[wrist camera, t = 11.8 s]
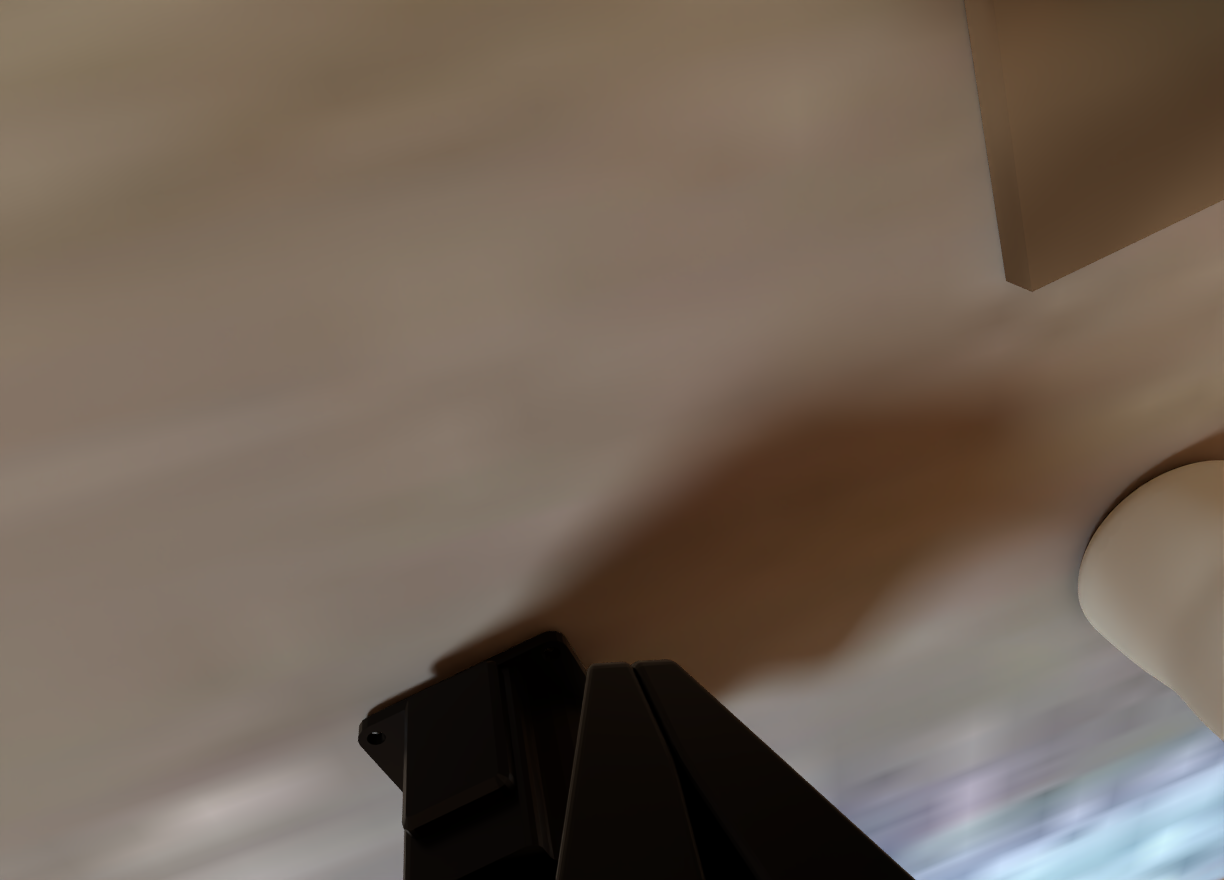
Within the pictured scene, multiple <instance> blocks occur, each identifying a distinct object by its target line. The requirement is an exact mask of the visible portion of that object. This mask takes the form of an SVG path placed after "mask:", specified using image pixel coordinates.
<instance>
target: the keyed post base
mask: <svg viewBox="0 0 1224 880" xmlns="http://www.w3.org/2000/svg"><path fill="white" fill-rule="evenodd" d="M964 3H965V9H966V16H967V23H968V29H969V36H970V43H971V49H972V56H973V63H974V69H975V76H976V83H977V89H978V96H979V103H980V109H981V116H982V123H983V129H984V136H985V143H986V149H987V156H988V163H989V169H990V176H991V182H992V189H993V196H994V202H995V209H996V216H997V222H998V229H999V236H1000V242H1001V249H1002V256H1003V262H1004V269H1005V276H1006V281H1008V282H1010V283H1012V284H1015V285H1017V286H1019V287H1022V288H1024V289H1027V290H1029V291H1031V292H1033V291H1035V290H1037V289H1039V288H1041V287H1043V286H1045V285H1047V284H1049V283H1051V282H1053V281H1056V280H1058V279H1060V278H1062V277H1064V276H1066V275H1068V274H1070V273H1072V272H1074V271H1076V270H1078V269H1081V268H1083V267H1085V266H1087V265H1089V264H1091V263H1093V262H1095V261H1097V260H1099V259H1101V258H1103V257H1105V256H1108V255H1110V254H1112V253H1114V252H1116V251H1118V250H1120V249H1122V248H1124V247H1126V246H1128V245H1130V244H1133V243H1135V242H1137V241H1139V240H1141V239H1143V238H1145V237H1147V236H1149V235H1151V234H1153V233H1155V232H1157V231H1160V230H1162V229H1164V228H1166V227H1168V226H1170V225H1172V224H1174V223H1176V222H1178V221H1180V220H1182V219H1185V218H1187V217H1189V216H1191V215H1193V214H1195V213H1197V212H1199V211H1201V210H1203V209H1205V208H1207V207H1209V206H1212V205H1214V204H1216V203H1218V202H1220V201H1222V200H1224V0H964Z"/></svg>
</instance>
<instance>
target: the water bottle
mask: <svg viewBox="0 0 1224 880" xmlns="http://www.w3.org/2000/svg"><path fill="white" fill-rule="evenodd" d="M1078 596H1079V602H1080V605H1081V608H1082V610H1083V613H1084V615H1085V617H1086V618H1087V619H1088V621H1089V622H1090V623H1091V625H1092V626H1093V627H1094V628H1095V629H1096V630H1097V631H1098V632H1099V633H1100V634H1101V635H1102V636H1103V637H1104V638H1106V639H1107V640H1108V641H1109V642H1110V643H1111V644H1112V645H1114V646H1115V647H1116V648H1117V649H1118V650H1119V651H1121V652H1122V653H1123V654H1124V655H1125V656H1127V657H1128V658H1129V659H1130V660H1132V661H1133V662H1134V663H1135V664H1137V665H1138V666H1139V667H1141V668H1142V669H1143V670H1144V671H1146V672H1147V673H1149V674H1150V675H1152V676H1153V677H1154V678H1156V679H1157V680H1159V681H1160V682H1162V683H1163V684H1165V685H1166V686H1168V687H1169V688H1171V689H1172V690H1174V691H1175V692H1176V693H1177V694H1178V695H1179V696H1180V697H1181V698H1182V700H1183V701H1184V702H1185V703H1186V704H1187V706H1188V707H1189V708H1190V709H1191V710H1192V711H1193V712H1194V714H1195V715H1196V716H1197V717H1198V718H1199V719H1200V720H1201V721H1202V722H1203V723H1204V724H1205V725H1206V726H1207V727H1208V728H1209V729H1210V730H1211V731H1212V732H1213V733H1215V734H1216V735H1217V736H1218V737H1219V738H1220V739H1221V740H1222V741H1223V742H1224V460H1212V461H1203V462H1198V463H1193V464H1189V465H1185V466H1182V467H1179V468H1176V469H1173V470H1171V471H1168V472H1166V473H1164V474H1162V475H1160V476H1158V477H1156V478H1154V479H1152V480H1150V481H1149V482H1147V483H1145V484H1144V485H1142V486H1141V487H1139V488H1138V489H1136V490H1135V491H1134V492H1132V493H1131V494H1130V495H1129V496H1127V497H1126V498H1125V499H1124V500H1123V501H1122V502H1121V503H1120V504H1118V505H1117V506H1116V507H1115V508H1114V509H1113V511H1112V512H1111V513H1110V514H1109V515H1108V516H1107V517H1106V518H1105V520H1104V521H1103V522H1102V524H1101V525H1100V526H1099V528H1098V529H1097V531H1096V532H1095V534H1094V535H1093V537H1092V539H1091V541H1090V542H1089V545H1088V547H1087V549H1086V551H1085V553H1084V556H1083V559H1082V562H1081V566H1080V570H1079V577H1078Z"/></svg>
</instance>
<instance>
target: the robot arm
mask: <svg viewBox="0 0 1224 880" xmlns="http://www.w3.org/2000/svg"><path fill="white" fill-rule="evenodd" d="M551 647H554V648H556V649H555V650H554V651H550V652H547V651H545V650H546V649H547V648H551ZM373 732H382V733H379V734H372V733H373ZM358 742H359V744H360V746H361V747H362V748H363V749H364V750H365V751H366V752H367V754H368V755H369V756H370V757H371V758H372V759H373V760H374V761H375V762H376V763H377V764H378V766H379V767H380V768H381V769H382V770H383V771H384V772H385V773H386V774H387V775H388V777H389V778H390V779H391V780H392V781H393V782H394V783H395V784H396V785H397V786H398V787H399V789H400V790H401V791H402V792H403V811H402V825H403V828H404V869H403V880H915V879H914V878H913V877H912V876H911V875H910V874H908V873H907V872H906V871H905V870H904V869H903V868H902V867H901V866H900V865H899V864H897V863H896V862H895V861H894V860H893V859H892V858H891V857H890V856H889V855H888V854H886V853H885V852H884V851H883V850H882V849H881V848H880V847H879V846H878V845H877V844H875V843H874V842H873V841H872V840H871V839H870V838H869V837H868V836H867V835H866V834H864V833H863V832H862V831H861V830H860V829H859V828H858V827H857V826H856V825H855V824H853V823H852V822H851V821H850V820H849V819H848V818H847V817H846V816H845V815H844V814H842V813H841V812H840V811H839V810H838V809H837V808H836V807H835V806H834V805H832V804H831V803H830V802H829V801H828V800H827V799H826V798H825V797H824V796H823V795H821V794H820V793H819V792H818V791H817V790H816V789H815V788H814V787H813V786H812V785H810V784H809V783H808V782H807V781H806V780H805V779H804V778H803V777H802V776H801V775H799V774H798V773H797V772H796V771H795V770H794V769H793V768H792V767H791V766H790V765H788V764H787V763H786V762H785V761H784V760H783V759H782V758H781V757H780V756H779V755H777V754H776V753H775V752H774V751H773V750H772V749H771V748H770V747H769V746H768V745H766V744H765V743H764V742H763V741H762V740H761V739H760V738H759V737H758V736H756V735H755V734H754V733H753V732H752V731H751V730H750V729H749V728H748V727H747V726H745V725H744V724H743V723H742V722H741V721H740V720H739V719H738V718H737V717H736V716H734V715H733V714H732V713H731V712H730V711H729V710H728V709H727V708H726V707H725V706H723V705H722V704H721V703H720V702H719V701H718V700H717V699H716V698H715V697H714V696H712V695H711V694H710V693H709V692H708V691H707V690H706V689H705V688H704V687H703V686H701V685H700V684H699V683H698V682H697V681H696V680H695V679H694V678H693V677H692V676H690V675H689V674H688V673H687V672H686V671H685V670H684V669H683V668H682V667H680V666H679V665H678V664H677V663H675V662H674V661H672V660H647V661H637V662H635V663H633V664H632V665H629V664H628V663H626V662H611V663H595V664H592V665H590V666H589V668H588V671H586V670H585V668H584V667H583V665H582V663H581V662H580V660H579V659H578V657H577V655H576V654H575V652H574V651H573V649H572V647H571V646H570V644H569V643H568V641H567V639H566V638H565V637H564V636H563V635H562V634H561V633H559V632H556V631H548V632H545V633H542V634H540V635H537V636H535V637H533V638H531V639H529V640H527V641H525V642H523V643H521V644H519V645H517V646H515V647H512V648H510V649H508V650H506V651H504V652H502V653H500V654H498V655H496V656H494V657H492V658H490V659H487V660H485V661H483V662H481V663H479V664H477V665H475V666H473V667H471V668H469V669H467V670H465V671H462V672H460V673H458V674H456V675H454V676H452V677H450V678H448V679H446V680H444V681H442V682H440V683H437V684H435V685H433V686H431V687H429V688H427V689H425V690H423V691H421V692H419V693H417V694H414V695H412V696H410V697H408V698H406V699H404V700H402V701H400V702H398V703H396V704H394V705H392V706H389V707H387V708H385V709H383V710H381V711H379V712H377V713H375V714H373V715H371V716H369V717H367V718H366V719H364V720H363V721H362V722H361V724H360V725H359V736H358Z"/></svg>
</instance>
